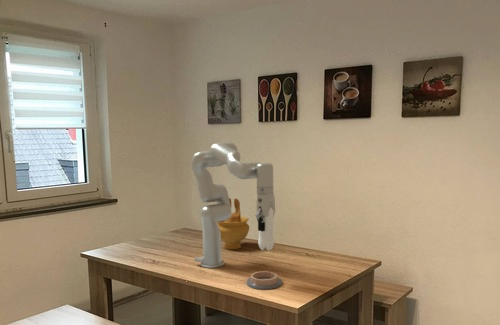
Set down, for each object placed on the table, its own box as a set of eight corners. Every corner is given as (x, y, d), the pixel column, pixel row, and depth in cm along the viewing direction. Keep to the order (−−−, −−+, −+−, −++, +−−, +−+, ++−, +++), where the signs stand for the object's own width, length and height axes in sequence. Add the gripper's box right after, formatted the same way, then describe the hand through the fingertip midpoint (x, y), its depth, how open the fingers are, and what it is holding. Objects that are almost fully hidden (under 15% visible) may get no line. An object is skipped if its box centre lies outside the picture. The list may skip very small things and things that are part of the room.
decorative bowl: (211, 250, 238) (209, 200, 237) (221, 241, 259) (220, 196, 257) (245, 252, 234) (244, 201, 232) (253, 243, 254) (252, 196, 253)
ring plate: (249, 290, 172) (249, 282, 172) (244, 278, 188) (244, 271, 188) (285, 288, 174) (285, 280, 174) (277, 276, 190) (277, 269, 190)
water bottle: (257, 247, 185) (256, 193, 184) (272, 246, 186) (271, 193, 185) (259, 251, 178) (258, 196, 177) (275, 250, 179) (274, 195, 177)
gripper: (263, 193, 171) (263, 234, 172) (281, 188, 186) (281, 226, 187) (248, 192, 175) (248, 232, 176) (267, 188, 190) (267, 224, 191)
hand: (265, 228), depth 181 cm, fingers closed on water bottle, 7 cm apart
